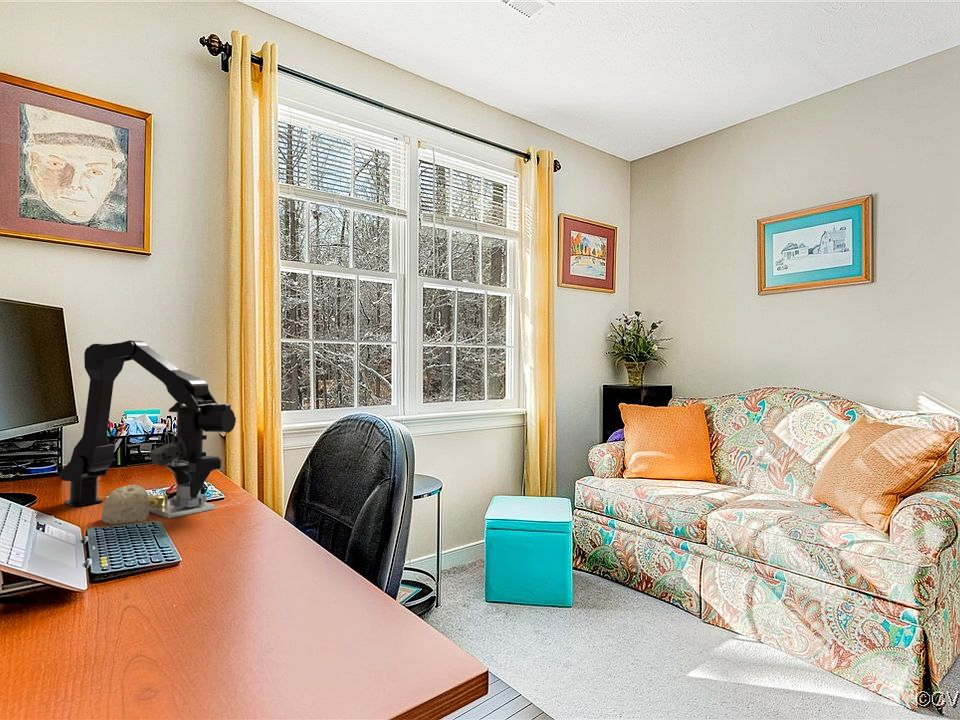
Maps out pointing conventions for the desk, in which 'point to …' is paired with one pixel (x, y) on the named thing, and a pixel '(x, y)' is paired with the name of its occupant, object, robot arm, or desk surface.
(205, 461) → the robot arm
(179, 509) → the carrier plate
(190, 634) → the desk surface
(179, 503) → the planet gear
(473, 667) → the desk surface
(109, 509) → the brown rounded stone
